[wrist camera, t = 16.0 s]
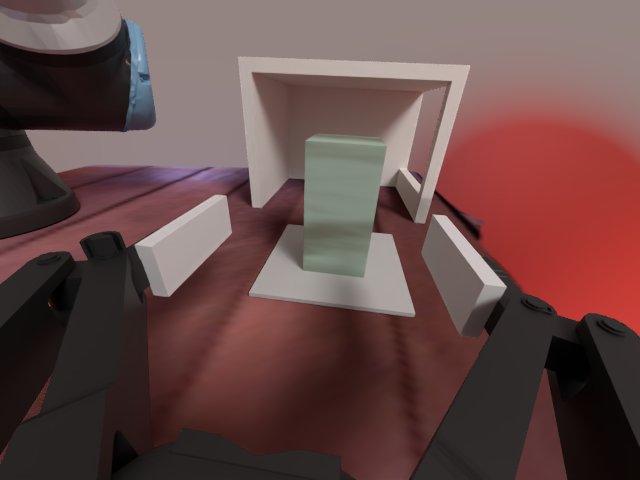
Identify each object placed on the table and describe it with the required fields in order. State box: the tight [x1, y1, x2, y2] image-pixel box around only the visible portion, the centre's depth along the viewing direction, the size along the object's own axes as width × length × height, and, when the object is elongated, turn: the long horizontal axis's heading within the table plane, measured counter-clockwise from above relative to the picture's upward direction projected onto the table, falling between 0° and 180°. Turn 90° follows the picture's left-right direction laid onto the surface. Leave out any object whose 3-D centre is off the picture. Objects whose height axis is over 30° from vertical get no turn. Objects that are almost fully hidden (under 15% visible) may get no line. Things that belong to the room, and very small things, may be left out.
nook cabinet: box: [238, 57, 470, 224], centre depth 41 cm, size 20×27×20 cm
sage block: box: [303, 133, 387, 278], centre depth 23 cm, size 6×6×12 cm
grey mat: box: [249, 224, 415, 317], centre depth 26 cm, size 14×14×1 cm
